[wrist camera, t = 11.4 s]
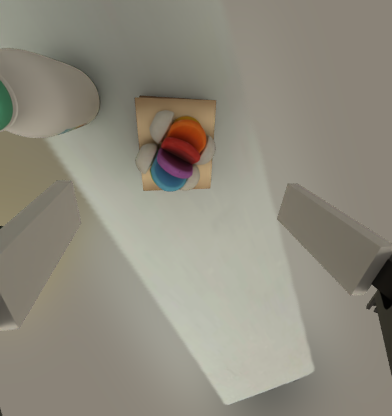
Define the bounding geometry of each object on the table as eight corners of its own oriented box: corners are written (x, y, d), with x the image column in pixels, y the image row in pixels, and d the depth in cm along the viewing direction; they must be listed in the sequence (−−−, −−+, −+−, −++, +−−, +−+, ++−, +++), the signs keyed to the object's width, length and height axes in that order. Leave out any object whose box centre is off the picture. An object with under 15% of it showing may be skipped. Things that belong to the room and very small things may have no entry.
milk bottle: (54, 50, 27) (-127, -33, 10) (110, 92, 30) (47, 85, 13) (32, 102, 29) (-149, 110, 12) (86, 136, 33) (4, 181, 15)
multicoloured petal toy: (218, 133, 28) (236, 144, 22) (185, 192, 32) (192, 216, 25) (162, 98, 25) (164, 98, 19) (131, 167, 28) (123, 187, 22)
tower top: (137, 97, 28) (134, 97, 25) (209, 100, 30) (216, 100, 26) (144, 181, 34) (143, 190, 30) (204, 179, 35) (210, 188, 32)
